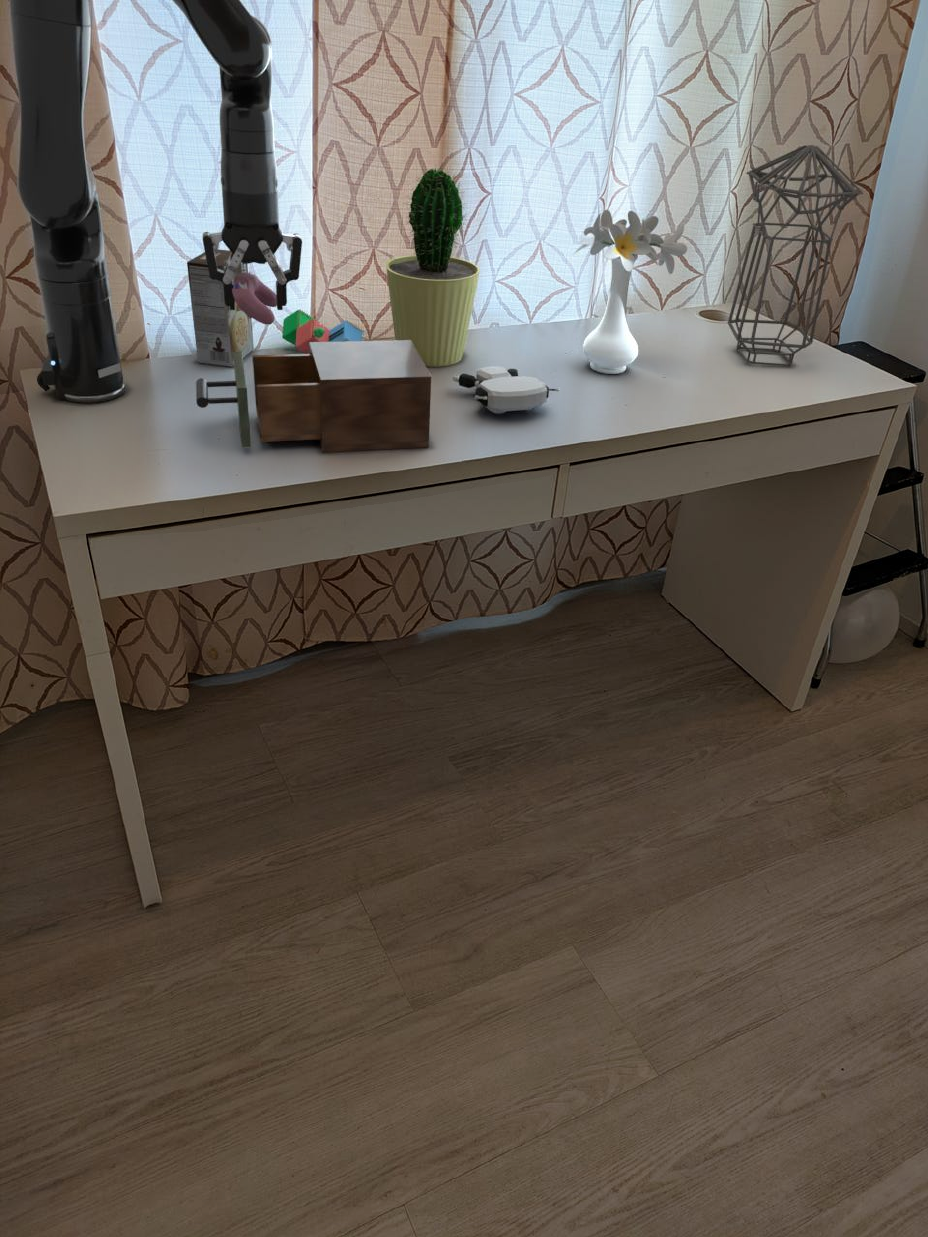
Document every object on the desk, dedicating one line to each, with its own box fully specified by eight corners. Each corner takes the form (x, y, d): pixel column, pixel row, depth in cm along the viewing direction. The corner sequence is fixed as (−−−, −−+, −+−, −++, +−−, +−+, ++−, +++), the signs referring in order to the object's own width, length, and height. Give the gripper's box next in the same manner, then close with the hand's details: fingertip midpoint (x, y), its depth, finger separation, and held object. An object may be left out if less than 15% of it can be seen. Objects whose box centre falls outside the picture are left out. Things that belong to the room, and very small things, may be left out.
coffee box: (219, 345, 165) (210, 247, 156) (254, 349, 164) (248, 251, 155) (196, 362, 158) (185, 260, 149) (233, 367, 157) (225, 265, 148)
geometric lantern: (817, 376, 169) (876, 156, 149) (727, 370, 169) (774, 150, 149) (793, 346, 182) (845, 140, 162) (710, 341, 182) (751, 134, 162)
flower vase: (675, 372, 166) (703, 218, 152) (587, 386, 158) (609, 225, 144) (629, 348, 176) (651, 200, 162) (544, 360, 168) (560, 206, 154)
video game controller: (254, 314, 147) (231, 271, 144) (281, 302, 147) (258, 258, 143) (248, 335, 139) (223, 290, 136) (276, 322, 139) (252, 276, 135)
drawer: (200, 449, 129) (194, 389, 124) (199, 409, 140) (193, 352, 135) (343, 443, 133) (342, 384, 128) (331, 404, 144) (330, 349, 139)
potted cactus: (366, 349, 167) (366, 160, 150) (435, 334, 176) (443, 153, 159) (422, 377, 158) (428, 178, 141) (492, 360, 166) (506, 170, 150)
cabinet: (322, 452, 133) (320, 379, 127) (311, 410, 144) (309, 342, 139) (428, 447, 136) (431, 376, 130) (409, 406, 148) (411, 339, 142)
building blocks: (315, 378, 168) (363, 350, 160) (278, 356, 162) (326, 327, 155) (318, 339, 170) (365, 311, 163) (281, 317, 165) (328, 286, 157)
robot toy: (447, 394, 155) (486, 424, 143) (447, 366, 152) (487, 394, 140) (516, 386, 159) (559, 415, 147) (517, 359, 157) (562, 385, 145)
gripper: (300, 181, 137) (303, 301, 147) (195, 178, 134) (204, 300, 143) (305, 192, 131) (308, 316, 141) (195, 189, 128) (205, 316, 138)
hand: (255, 308), depth 142 cm, fingers closed on video game controller, 6 cm apart
